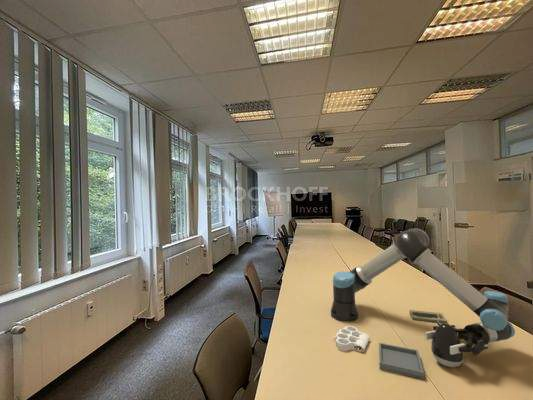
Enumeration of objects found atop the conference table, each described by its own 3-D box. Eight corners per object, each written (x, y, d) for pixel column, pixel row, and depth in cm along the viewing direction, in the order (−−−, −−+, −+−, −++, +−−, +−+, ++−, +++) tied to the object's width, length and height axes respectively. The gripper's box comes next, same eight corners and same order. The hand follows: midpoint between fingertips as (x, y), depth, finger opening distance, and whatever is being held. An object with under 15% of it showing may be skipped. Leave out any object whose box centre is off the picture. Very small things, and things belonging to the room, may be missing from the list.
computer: (412, 321, 133) (412, 314, 133) (409, 314, 140) (409, 308, 140) (447, 325, 128) (447, 318, 128) (441, 318, 135) (441, 312, 135)
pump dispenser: (449, 354, 102) (448, 317, 102) (470, 371, 92) (469, 330, 92) (425, 354, 102) (424, 318, 102) (444, 372, 92) (443, 331, 92)
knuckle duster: (362, 358, 102) (328, 347, 110) (371, 338, 117) (340, 329, 125) (362, 350, 102) (328, 339, 110) (371, 331, 117) (340, 323, 125)
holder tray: (379, 369, 95) (379, 362, 95) (379, 348, 108) (379, 342, 108) (424, 379, 89) (424, 372, 89) (418, 356, 102) (417, 350, 102)
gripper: (513, 359, 91) (468, 371, 85) (453, 329, 112) (413, 337, 106) (512, 338, 91) (467, 349, 85) (452, 313, 112) (413, 320, 106)
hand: (437, 342), depth 96 cm, fingers closed on pump dispenser, 9 cm apart
